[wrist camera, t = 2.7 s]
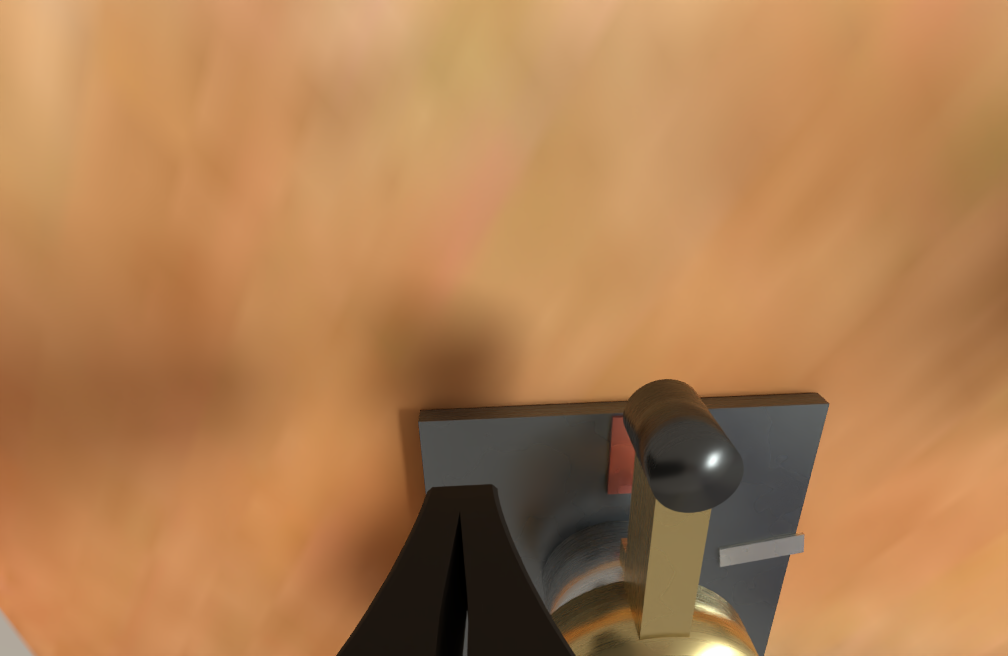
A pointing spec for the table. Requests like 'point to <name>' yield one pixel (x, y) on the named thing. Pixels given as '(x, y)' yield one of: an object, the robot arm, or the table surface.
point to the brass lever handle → (665, 539)
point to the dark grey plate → (608, 486)
